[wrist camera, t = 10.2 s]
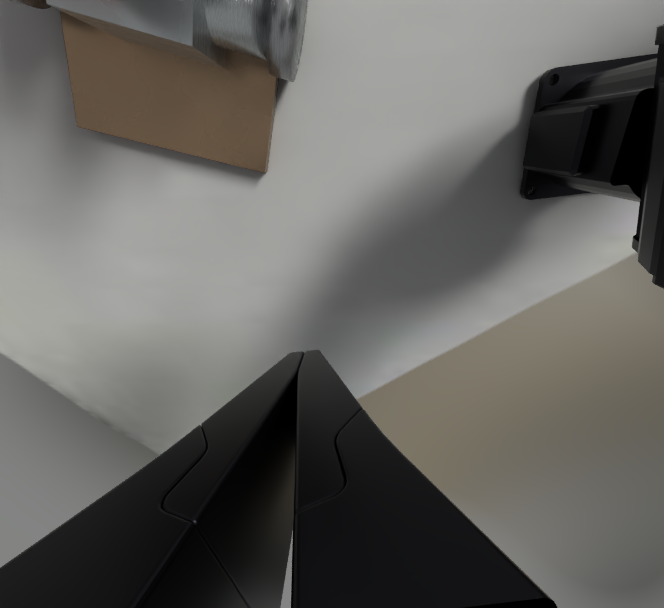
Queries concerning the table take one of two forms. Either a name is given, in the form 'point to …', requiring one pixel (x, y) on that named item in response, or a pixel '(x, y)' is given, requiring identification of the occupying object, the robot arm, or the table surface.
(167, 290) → the table surface
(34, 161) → the table surface
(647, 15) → the table surface
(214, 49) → the valve
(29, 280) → the table surface
